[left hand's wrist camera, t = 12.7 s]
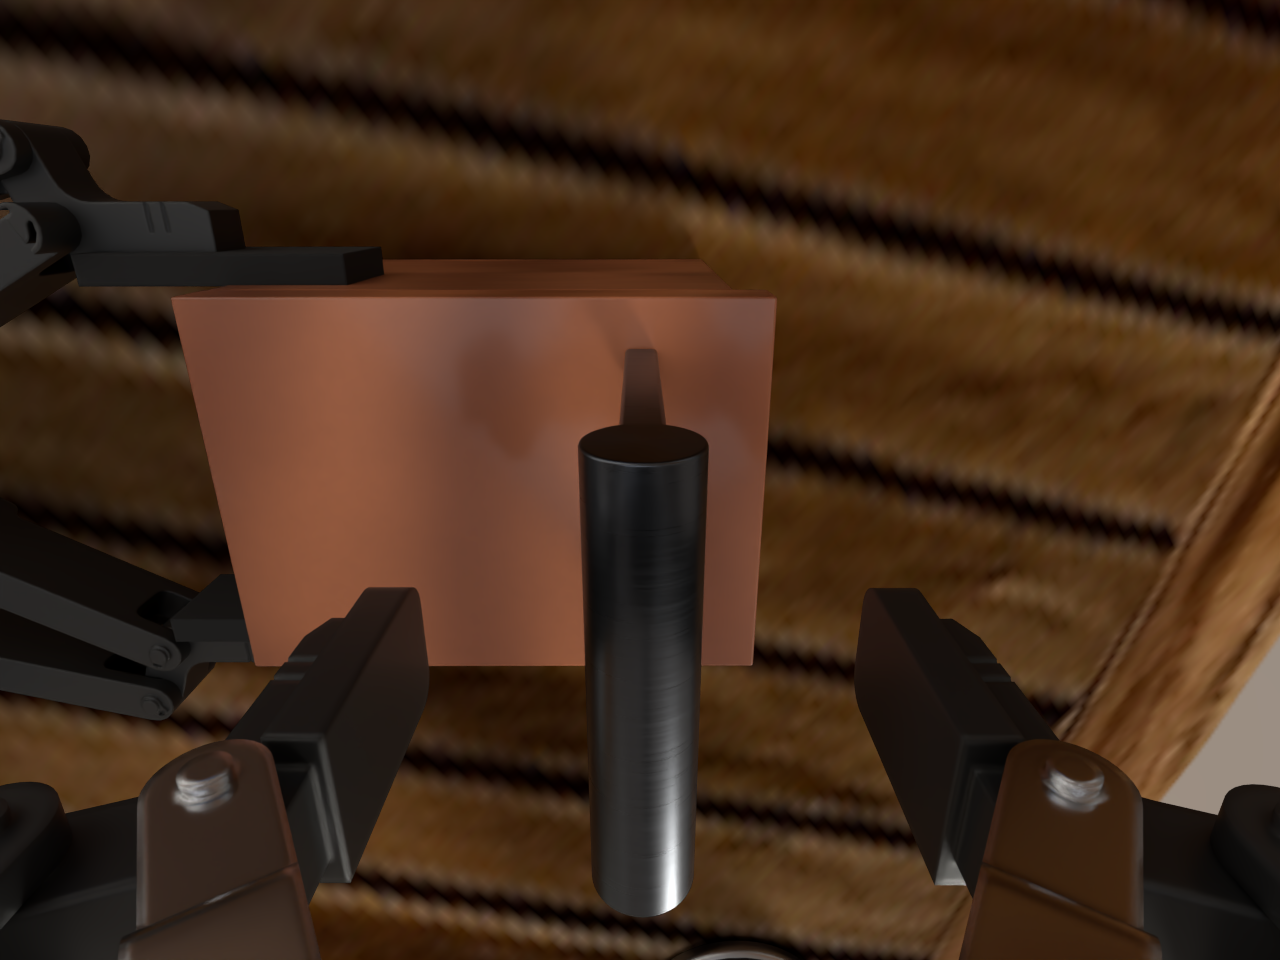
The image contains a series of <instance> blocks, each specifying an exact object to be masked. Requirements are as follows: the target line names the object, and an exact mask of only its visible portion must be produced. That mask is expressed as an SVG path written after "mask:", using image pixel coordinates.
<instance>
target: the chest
mask: <svg viewBox="0 0 1280 960" xmlns="http://www.w3.org/2000/svg"><path fill="white" fill-rule="evenodd" d="M383 268H384V275H381V276H377V277H374V278H370V279H367V280H364V281H360V282H357V283H353V284H350V285H228V286H224V287H219V288H214V289H210V290H732V289H731V288H730V287H729V286H728V285H727V284H726V283H725V282H724V281H723V280H722V279H721V278H720V277H719V276H718V275H717V274H716V273H715V272H714V271H713V270H712V269H711V268H710V267H709V266H707V265H706V264H705V263H704V261H703V260H701V259H439V260H383Z"/></svg>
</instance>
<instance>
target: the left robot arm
mask: <svg viewBox="0 0 1280 960" xmlns="http://www.w3.org/2000/svg"><path fill="white" fill-rule="evenodd" d="M1010 678H1011V677H1010V676H1009V674H1008V673H1007V672H1006V671H1005V669H1004V668H1003V667H1002V665H1001V664H1000V663H997V659H996V658H995V656H994V655H993V654H992V652H991V651H990V650H989V649H988V647H987V646H986V645H985V643H984V642H983V641H982V640H981V638H980V637H978V636H977V635H976V634H974V633H973V632H971V631H970V630H968V629H967V628H965V627H964V626H962V625H961V624H959V623H958V622H956V621H955V620H953V619H939V617H938V616H937V614H936V613H935V612H934V610H933V609H932V607H931V606H930V605H929V603H928V602H927V600H926V599H925V598H924V596H923V595H922V593H921V592H920V591H919V590H918V589H916V588H870V589H868V590H867V592H866V594H865V596H864V601H863V607H862V615H861V623H860V631H859V638H858V646H857V654H856V662H855V671H854V684H855V693H856V699H857V703H858V707H859V709H860V712H861V714H862V717H863V719H864V721H865V724H866V726H867V728H868V731H869V733H870V735H871V738H872V740H873V742H874V745H875V747H876V749H877V752H878V754H879V756H880V759H881V761H882V763H883V766H884V768H885V770H886V773H887V775H888V777H889V780H890V782H891V784H892V787H893V789H894V791H895V794H896V796H897V798H898V801H899V803H900V805H901V808H902V810H903V812H904V815H905V817H906V819H907V822H908V824H909V826H910V829H911V831H912V833H913V836H914V838H915V840H916V843H917V845H918V847H919V850H920V852H921V854H922V857H923V859H924V861H925V864H926V866H927V868H928V871H929V873H930V875H931V878H932V880H933V882H934V885H967V888H968V890H969V892H970V894H971V896H972V898H973V902H972V906H971V910H970V915H969V919H968V923H967V927H966V931H965V936H964V940H963V944H962V948H961V953H960V957H959V960H1280V788H1278V787H1274V786H1267V785H1255V784H1251V785H1242V786H1238V787H1235V788H1233V789H1231V790H1230V791H1229V792H1228V793H1227V794H1226V795H1225V798H1224V800H1223V803H1222V806H1221V808H1220V811H1219V813H1218V815H1215V814H1210V813H1206V812H1202V811H1197V810H1193V809H1188V808H1184V807H1180V806H1175V805H1171V804H1166V803H1162V802H1158V801H1154V800H1150V799H1146V798H1143V797H1141V795H1140V793H1139V791H1138V789H1137V788H1136V786H1135V785H1134V783H1133V782H1132V781H1131V780H1130V778H1129V777H1128V776H1127V775H1126V774H1125V773H1124V772H1122V771H1121V770H1120V769H1119V768H1118V767H1117V766H1115V765H1114V764H1112V763H1111V762H1110V761H1108V760H1106V759H1105V758H1103V757H1101V756H1100V755H1098V754H1096V753H1094V752H1092V751H1089V750H1087V749H1085V748H1082V747H1079V746H1077V745H1074V744H1070V743H1067V742H1062V741H1060V740H1059V739H1058V738H1057V737H1056V735H1055V734H1054V733H1053V731H1052V730H1051V729H1050V728H1049V726H1048V725H1047V724H1046V722H1045V721H1044V720H1043V718H1042V717H1041V716H1040V715H1039V713H1038V712H1037V711H1036V709H1035V708H1034V707H1033V706H1032V704H1031V703H1030V702H1029V700H1028V699H1027V698H1026V696H1025V695H1024V694H1023V693H1022V691H1021V690H1020V689H1019V687H1018V686H1017V685H1016V684H1015V682H1011V679H1010ZM428 689H429V664H428V656H427V648H426V640H425V632H424V624H423V617H422V609H421V601H420V596H419V593H418V591H417V589H416V588H414V587H368V588H366V589H365V590H364V591H363V592H362V594H361V595H360V597H359V598H358V600H357V601H356V602H355V604H354V605H353V607H352V608H351V610H350V611H349V612H348V614H347V615H346V617H345V618H331V619H329V620H328V621H326V622H325V623H323V624H322V625H320V626H319V627H317V628H316V629H314V630H313V631H311V632H310V633H309V634H307V635H306V636H304V638H303V639H302V640H301V641H300V643H299V644H298V645H297V647H296V648H295V649H294V651H293V652H292V653H291V655H290V656H289V657H288V662H284V664H283V665H282V666H281V668H280V669H279V670H278V672H277V673H276V674H275V675H274V680H271V681H270V682H269V683H268V685H267V686H266V687H265V689H264V690H263V691H262V692H261V694H260V695H259V696H258V698H257V699H256V700H255V702H254V703H253V704H252V706H251V707H250V708H249V709H248V711H247V712H246V713H245V715H244V716H243V717H242V719H241V720H240V721H239V723H238V724H237V725H236V726H235V728H234V729H233V730H232V732H231V733H230V734H229V736H228V737H227V738H226V740H223V741H218V742H213V743H210V744H206V745H203V746H201V747H198V748H195V749H193V750H191V751H188V752H186V753H184V754H182V755H180V756H179V757H177V758H175V759H174V760H172V761H170V762H169V763H168V764H166V765H165V766H163V767H162V768H161V769H160V770H159V771H158V772H156V773H155V774H154V775H153V776H152V777H151V778H150V780H149V781H148V782H147V783H146V785H145V786H144V788H143V789H142V791H141V793H140V795H139V797H135V798H132V799H128V800H123V801H119V802H114V803H110V804H106V805H101V806H97V807H92V808H88V809H84V810H79V811H75V812H70V813H66V814H65V812H64V809H63V807H62V804H61V801H60V799H59V796H58V794H57V792H56V791H55V790H54V788H52V787H50V786H49V785H46V784H43V783H38V782H19V783H12V784H6V785H2V786H0V960H321V957H320V953H319V948H318V944H317V940H316V936H315V931H314V927H313V923H312V919H311V915H310V910H309V903H310V901H311V899H312V897H313V895H314V893H315V891H316V888H317V886H318V884H319V883H351V880H352V878H353V875H354V873H355V871H356V868H357V866H358V864H359V861H360V859H361V857H362V854H363V852H364V849H365V847H366V845H367V842H368V840H369V838H370V835H371V833H372V831H373V828H374V826H375V823H376V821H377V819H378V816H379V814H380V812H381V809H382V807H383V805H384V802H385V800H386V797H387V795H388V793H389V790H390V788H391V786H392V783H393V781H394V778H395V776H396V774H397V771H398V769H399V767H400V764H401V762H402V760H403V757H404V755H405V752H406V750H407V748H408V745H409V743H410V741H411V738H412V736H413V734H414V731H415V729H416V726H417V724H418V722H419V719H420V717H421V715H422V712H423V710H424V707H425V704H426V700H427V696H428ZM671 960H800V959H799V958H798V957H796V956H795V955H793V954H791V953H789V952H787V951H785V950H783V949H781V948H778V947H775V946H772V945H768V944H764V943H758V942H751V941H723V942H716V943H710V944H706V945H702V946H699V947H696V948H693V949H690V950H688V951H685V952H683V953H681V954H679V955H678V956H676V957H674V958H673V959H671Z"/></svg>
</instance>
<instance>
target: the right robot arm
mask: <svg viewBox="0 0 1280 960" xmlns="http://www.w3.org/2000/svg"><path fill="white" fill-rule="evenodd" d="M89 162H90V155H89V151H88V148H87V146H86V144H85V143H84V141H83V140H82V138H81V137H80V136H79V135H77V134H76V133H75V132H73V131H72V130H69V129H66V128H64V127H57V126H49V125H41V124H33V123H25V122H17V121H9V120H1V119H0V200H2V199H6V198H9V197H11V199H12V200H13V202H3V203H0V210H9V211H10V213H9V214H8V215H6V216H5V217H3V218H2V219H0V327H1V326H3V325H4V324H6V323H8V322H9V321H11V320H12V319H14V318H15V317H17V316H18V315H20V314H21V313H23V312H24V311H26V310H28V309H29V308H31V307H32V306H34V305H35V304H37V303H38V302H40V301H41V300H43V299H44V298H46V297H48V296H49V295H51V294H52V293H54V292H55V291H57V290H58V289H60V288H61V287H63V286H64V285H66V284H68V283H69V282H71V281H72V280H74V279H75V278H77V280H78V284H79V286H228V285H350V284H353V283H357V282H360V281H364V280H367V279H370V278H374V277H377V276H381V275H384V268H383V260H382V252H381V247H245V242H244V237H243V232H242V227H241V221H240V216H239V211H238V209H235V208H232V207H230V206H227V205H225V204H222V203H220V202H127V201H120V200H117V199H114V198H112V197H111V196H109V195H107V194H106V193H105V192H103V191H102V190H101V189H100V188H99V187H98V185H97V184H96V183H95V181H94V180H93V178H92V176H91V175H90V173H89V171H88V170H87V169H88V167H89ZM17 512H18V508H17V506H16V505H15V504H13V503H11V502H10V501H7V500H5V499H2V498H0V690H3V691H8V692H13V693H18V694H23V695H28V696H33V697H39V698H44V699H49V700H54V701H59V702H64V703H69V704H74V705H79V706H84V707H90V708H95V709H100V710H105V711H110V712H115V713H120V714H125V715H130V716H135V717H141V718H146V719H151V720H163V719H166V718H168V717H169V716H170V715H171V714H172V713H173V712H174V711H175V710H176V708H177V707H178V706H179V705H180V704H181V703H182V702H183V701H184V700H185V699H186V697H187V696H188V695H189V694H190V693H191V692H192V691H193V690H194V689H195V688H196V687H197V685H198V684H199V683H200V682H201V681H202V680H203V679H204V678H205V677H206V676H207V674H208V673H209V672H210V671H211V670H212V669H213V668H214V666H215V663H216V662H250V661H252V662H254V657H253V653H252V649H251V644H250V640H249V636H248V631H247V627H246V622H245V618H244V614H243V609H242V605H241V601H240V596H239V592H238V588H237V583H236V579H235V575H234V574H220V575H219V576H218V577H217V578H216V579H215V580H214V581H213V582H211V583H210V584H209V585H208V586H207V587H206V588H205V589H204V590H202V591H201V592H200V593H199V592H197V591H194V590H192V589H189V588H187V587H185V586H182V585H180V584H178V583H175V582H173V581H170V580H168V579H166V578H163V577H161V576H158V575H156V574H154V573H151V572H149V571H146V570H144V569H142V568H139V567H137V566H134V565H132V564H130V563H127V562H125V561H122V560H120V559H118V558H115V557H113V556H111V555H108V554H106V553H103V552H101V551H99V550H96V549H94V548H91V547H89V546H87V545H84V544H82V543H79V542H77V541H75V540H72V539H70V538H67V537H65V536H63V535H60V534H58V533H56V532H53V531H51V530H48V529H46V528H44V527H41V526H39V525H36V524H34V523H32V522H29V521H27V520H24V519H22V518H20V517H19V516H18V515H17ZM162 624H163V625H162Z"/></svg>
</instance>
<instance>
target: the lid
mask: <svg viewBox="0 0 1280 960" xmlns="http://www.w3.org/2000/svg"><path fill="white" fill-rule="evenodd" d="M171 301H172V305H173V310H174V314H175V318H176V323H177V327H178V331H179V336H180V340H181V344H182V349H183V353H184V357H185V362H186V366H187V370H188V375H189V379H190V383H191V388H192V392H193V396H194V401H195V405H196V410H197V414H198V418H199V423H200V427H201V431H202V436H203V440H204V444H205V449H206V453H207V457H208V462H209V466H210V470H211V475H212V479H213V483H214V488H215V492H216V496H217V501H218V505H219V509H220V514H221V518H222V523H223V527H224V531H225V536H226V540H227V544H228V549H229V553H230V557H231V562H232V566H233V570H234V575H235V579H236V583H237V588H238V592H239V596H240V601H241V605H242V609H243V614H244V618H245V622H246V627H247V631H248V636H249V640H250V644H251V649H252V653H253V657H254V662H255V665H256V666H282V665H283V664H284V662H288V657H289V656H290V655H291V653H292V652H293V651H294V649H295V648H296V647H297V645H298V644H299V643H300V641H301V640H302V639H303V638H304V636H306V635H307V634H309V633H310V632H311V631H313V630H314V629H316V628H317V627H319V626H320V625H322V624H323V623H325V622H326V621H328V620H329V619H331V618H345V617H346V615H347V614H348V612H349V611H350V610H351V608H352V607H353V605H354V604H355V602H356V601H357V600H358V598H359V597H360V595H361V594H362V592H363V591H364V590H365V589H366V588H368V587H414V588H416V589H417V591H418V593H419V596H420V601H421V609H422V617H423V624H424V632H425V640H426V648H427V656H428V664H429V666H585V679H586V709H587V739H588V769H589V799H590V829H591V858H592V878H593V883H594V886H595V888H596V890H597V892H598V894H599V895H600V897H601V898H602V899H603V900H604V902H605V903H606V904H608V905H609V906H610V907H611V908H613V909H614V910H616V911H618V912H620V913H622V914H625V915H629V916H634V917H652V916H657V915H661V914H664V913H666V912H668V911H670V910H671V909H673V908H675V907H676V906H677V905H678V904H679V903H681V901H682V900H683V899H684V898H685V897H686V895H687V894H688V892H689V890H690V888H691V885H692V882H693V876H694V851H695V823H696V795H697V767H698V740H699V712H700V684H701V665H752V664H753V653H754V638H755V623H756V608H757V593H758V578H759V563H760V548H761V533H762V518H763V503H764V488H765V473H766V457H767V442H768V427H769V412H770V397H771V382H772V367H773V352H774V337H775V322H776V307H777V298H776V296H774V295H773V294H771V293H770V292H769V291H767V290H203V291H198V292H194V293H189V294H184V295H179V296H175V297H172V298H171Z"/></svg>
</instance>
